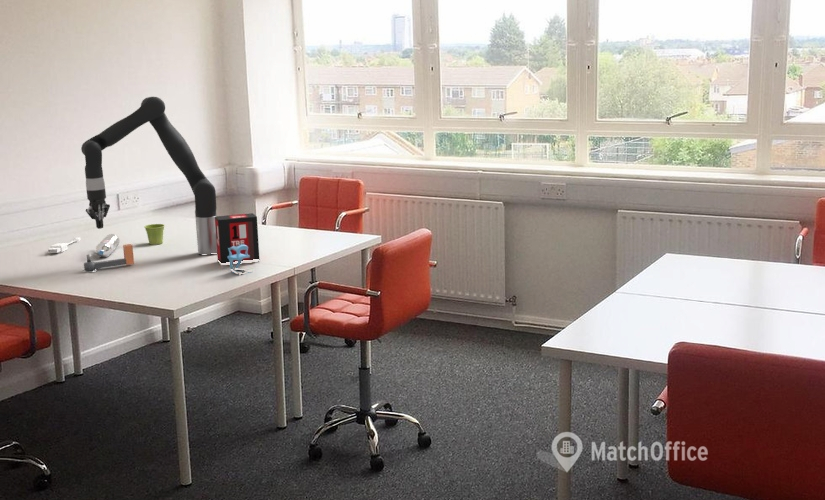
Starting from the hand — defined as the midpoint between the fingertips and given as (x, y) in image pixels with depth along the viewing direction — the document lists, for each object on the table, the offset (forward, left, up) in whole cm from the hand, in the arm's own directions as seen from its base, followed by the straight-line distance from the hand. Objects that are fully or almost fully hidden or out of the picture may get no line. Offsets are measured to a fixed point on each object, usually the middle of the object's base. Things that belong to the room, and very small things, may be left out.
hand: (100, 228), depth 383 cm
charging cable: (+29, -39, -17) cm, 52 cm away
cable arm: (-4, +5, -16) cm, 17 cm away
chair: (-61, +19, -17) cm, 66 cm away
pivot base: (+3, +9, -17) cm, 19 cm away
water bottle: (+6, -36, -13) cm, 38 cm away
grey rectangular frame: (+2, +2, -17) cm, 17 cm away
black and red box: (-58, 0, -17) cm, 60 cm away
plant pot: (-13, -42, -17) cm, 47 cm away
